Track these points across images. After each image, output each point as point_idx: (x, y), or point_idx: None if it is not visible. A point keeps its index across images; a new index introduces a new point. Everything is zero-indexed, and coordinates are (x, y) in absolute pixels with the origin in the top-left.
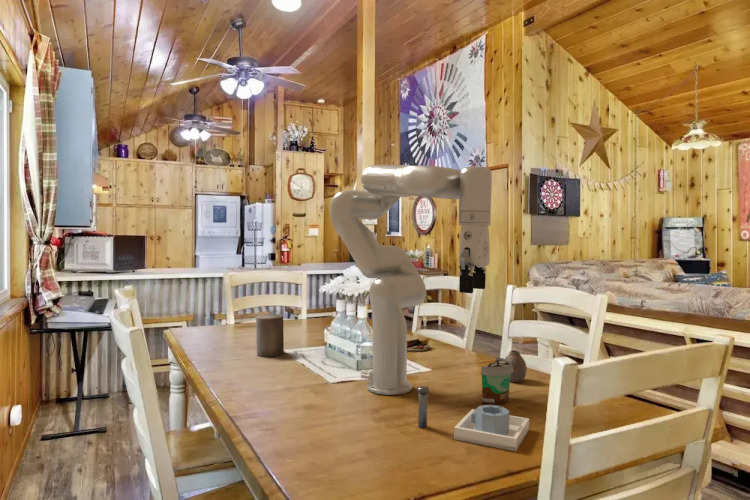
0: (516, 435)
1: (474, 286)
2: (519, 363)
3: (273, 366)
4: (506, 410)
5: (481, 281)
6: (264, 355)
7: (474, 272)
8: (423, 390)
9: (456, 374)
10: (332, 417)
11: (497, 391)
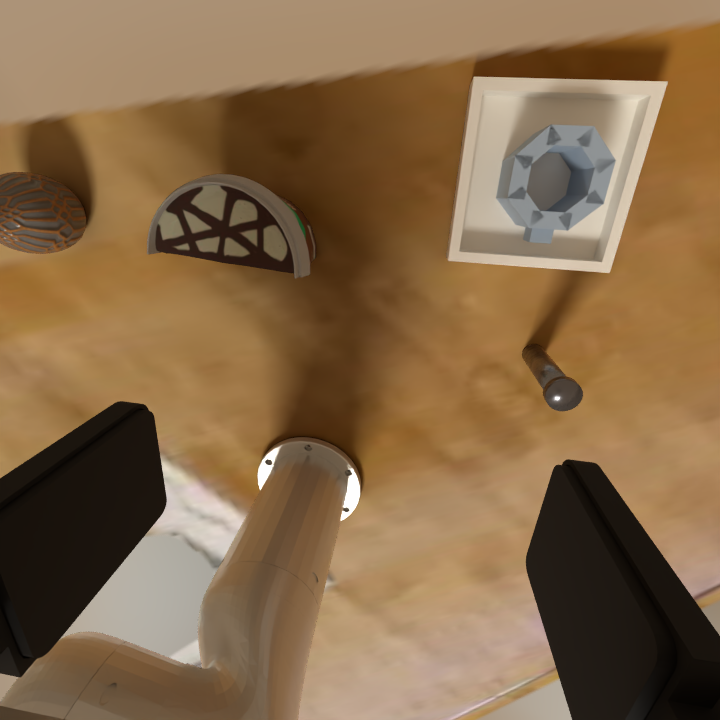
0: (636, 87)
1: (155, 501)
2: (28, 192)
3: None
4: (550, 134)
5: (101, 479)
6: None
7: (8, 657)
8: (581, 389)
9: (116, 372)
10: (533, 523)
11: (298, 218)
